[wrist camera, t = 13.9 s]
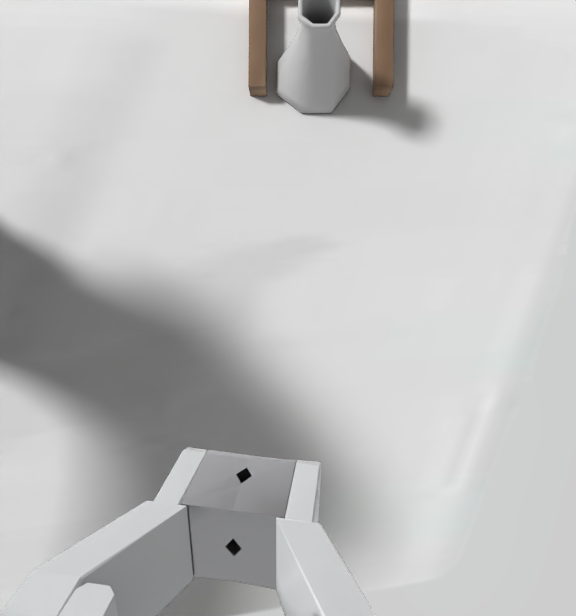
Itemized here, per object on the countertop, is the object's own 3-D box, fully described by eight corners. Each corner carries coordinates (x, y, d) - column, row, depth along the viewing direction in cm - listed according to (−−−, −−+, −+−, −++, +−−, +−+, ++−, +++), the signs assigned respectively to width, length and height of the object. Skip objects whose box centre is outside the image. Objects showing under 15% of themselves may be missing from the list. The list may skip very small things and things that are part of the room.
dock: (250, 95, 42) (248, 86, 40) (251, -17, 41) (249, -31, 40) (388, 96, 41) (393, 86, 40) (390, -17, 41) (394, -32, 39)
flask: (362, 53, 41) (383, -27, 31) (336, 126, 42) (350, 70, 32) (289, 28, 42) (288, -59, 32) (264, 101, 42) (254, 37, 32)
